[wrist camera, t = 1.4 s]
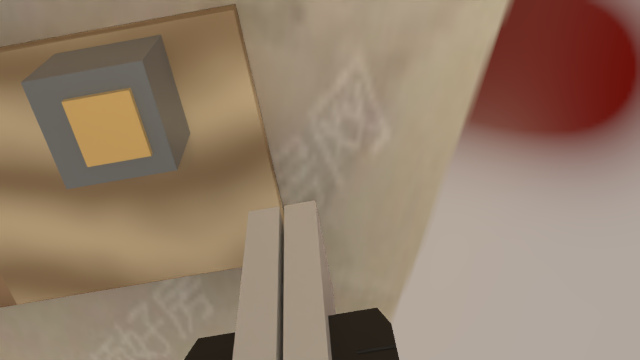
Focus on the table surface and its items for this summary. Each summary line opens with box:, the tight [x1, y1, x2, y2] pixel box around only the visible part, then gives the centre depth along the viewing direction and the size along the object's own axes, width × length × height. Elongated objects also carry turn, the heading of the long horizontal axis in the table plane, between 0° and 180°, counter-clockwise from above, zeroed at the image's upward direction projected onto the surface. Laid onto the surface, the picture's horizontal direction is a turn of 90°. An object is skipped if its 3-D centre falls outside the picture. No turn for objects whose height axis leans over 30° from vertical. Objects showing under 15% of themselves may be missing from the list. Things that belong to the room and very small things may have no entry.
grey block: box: [21, 35, 190, 189], centre depth 27 cm, size 5×5×4 cm
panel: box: [0, 4, 284, 307], centre depth 31 cm, size 14×24×1 cm, turn 100°
